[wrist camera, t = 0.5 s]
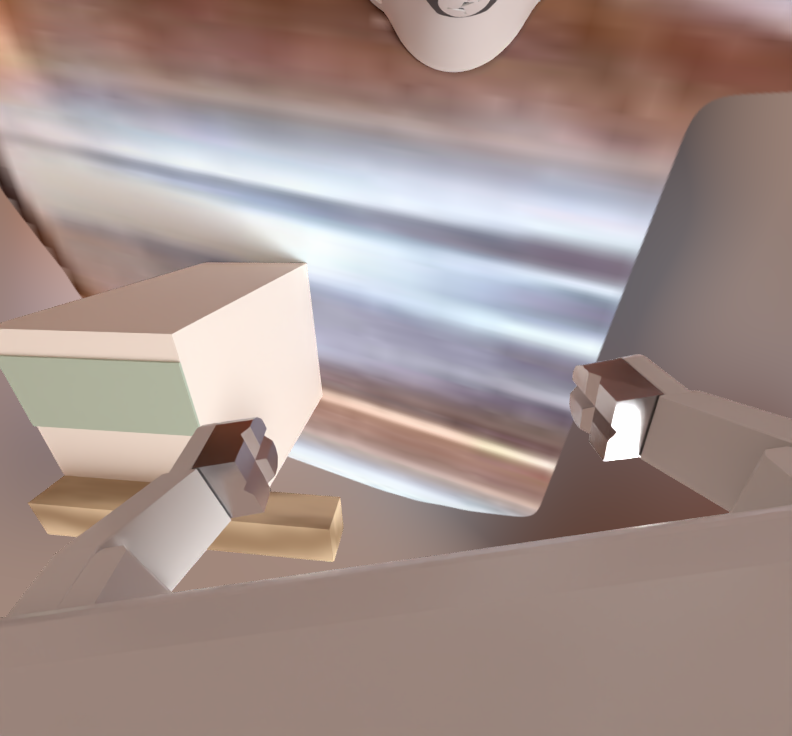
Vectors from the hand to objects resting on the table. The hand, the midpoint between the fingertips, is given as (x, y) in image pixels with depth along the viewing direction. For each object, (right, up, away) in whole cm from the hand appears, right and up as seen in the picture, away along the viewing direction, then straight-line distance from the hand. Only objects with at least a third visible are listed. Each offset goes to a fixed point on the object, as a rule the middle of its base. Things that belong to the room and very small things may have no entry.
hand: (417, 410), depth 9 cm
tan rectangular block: (-17, -10, +20) cm, 28 cm away
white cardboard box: (-19, +6, +42) cm, 46 cm away
